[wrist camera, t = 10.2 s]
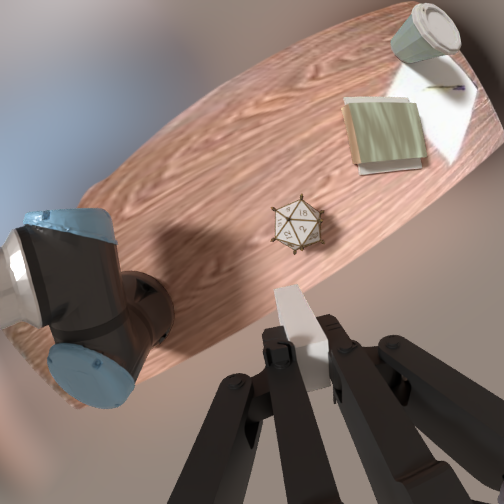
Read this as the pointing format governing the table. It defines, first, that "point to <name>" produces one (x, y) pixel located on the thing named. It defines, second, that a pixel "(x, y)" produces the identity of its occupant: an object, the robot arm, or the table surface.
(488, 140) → the table surface
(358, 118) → the wooden block
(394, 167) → the mat
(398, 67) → the table surface
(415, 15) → the disposable coffee cup
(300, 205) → the game die
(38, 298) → the robot arm
